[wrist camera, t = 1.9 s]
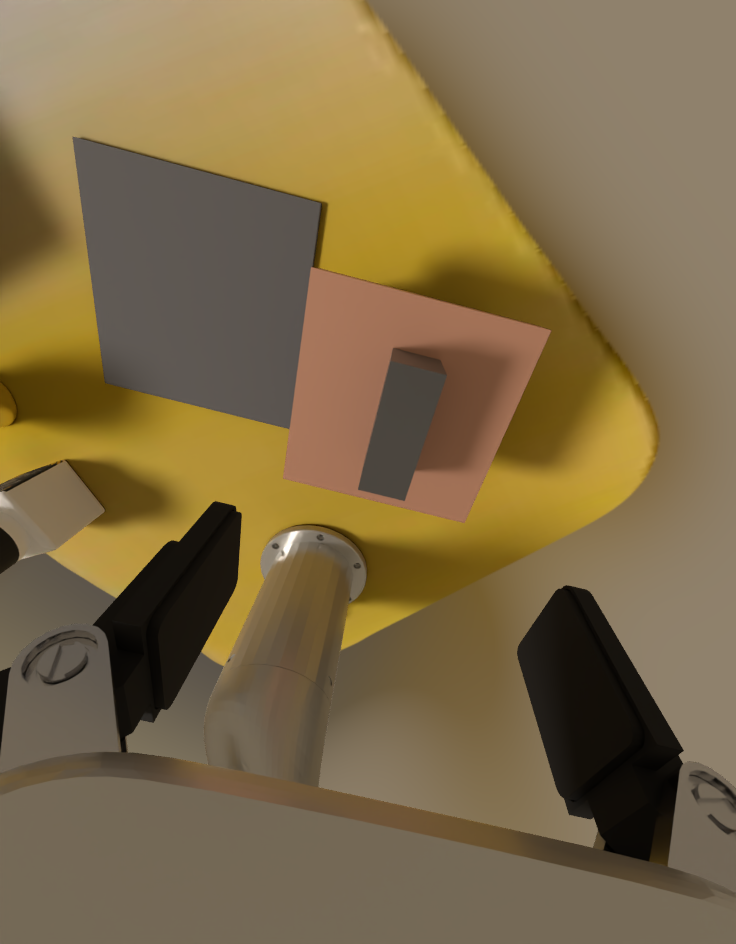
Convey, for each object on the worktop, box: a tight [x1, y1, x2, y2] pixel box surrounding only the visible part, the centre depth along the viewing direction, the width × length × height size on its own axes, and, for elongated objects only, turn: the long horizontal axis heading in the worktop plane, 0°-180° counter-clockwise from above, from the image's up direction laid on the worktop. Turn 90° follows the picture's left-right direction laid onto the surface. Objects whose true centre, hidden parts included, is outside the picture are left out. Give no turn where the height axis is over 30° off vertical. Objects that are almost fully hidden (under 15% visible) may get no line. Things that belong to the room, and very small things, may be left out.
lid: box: [283, 267, 551, 523], centre depth 23 cm, size 14×14×6 cm
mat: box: [73, 137, 322, 429], centre depth 30 cm, size 18×18×1 cm
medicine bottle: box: [0, 460, 105, 574], centre depth 36 cm, size 7×7×12 cm
